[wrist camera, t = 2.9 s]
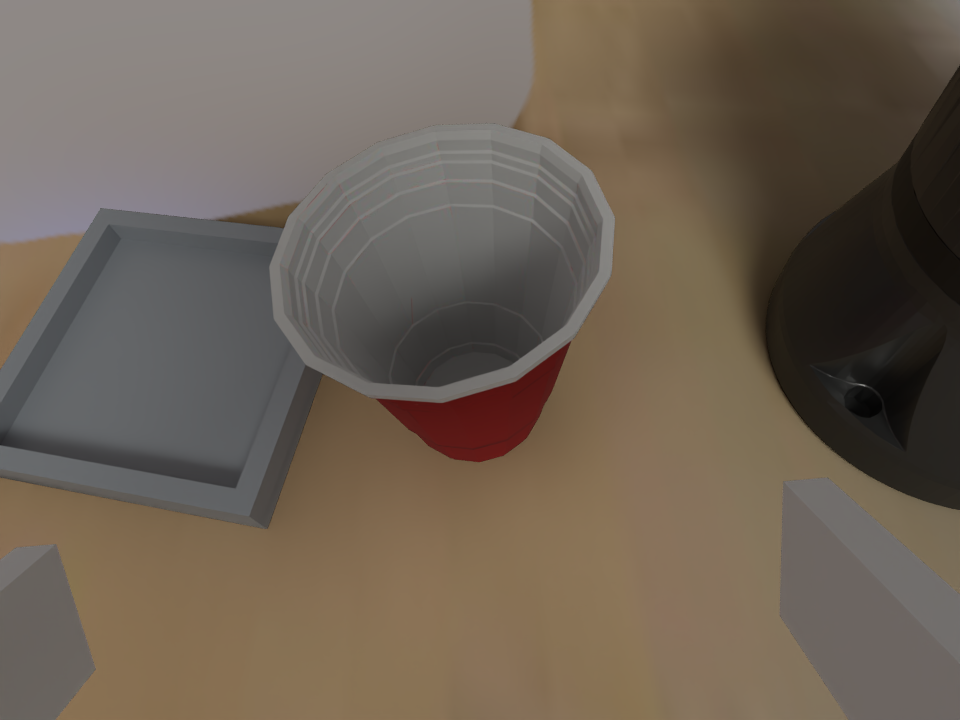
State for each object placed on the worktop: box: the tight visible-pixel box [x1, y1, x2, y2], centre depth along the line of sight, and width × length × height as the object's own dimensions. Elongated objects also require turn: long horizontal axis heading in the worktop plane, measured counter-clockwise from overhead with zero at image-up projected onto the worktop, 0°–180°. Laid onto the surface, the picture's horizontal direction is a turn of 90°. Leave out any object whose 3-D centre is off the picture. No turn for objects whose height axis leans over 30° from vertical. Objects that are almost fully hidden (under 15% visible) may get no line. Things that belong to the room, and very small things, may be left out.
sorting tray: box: [0, 208, 323, 529], centre depth 32 cm, size 15×15×2 cm
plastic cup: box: [269, 123, 615, 462], centre depth 25 cm, size 11×11×12 cm
